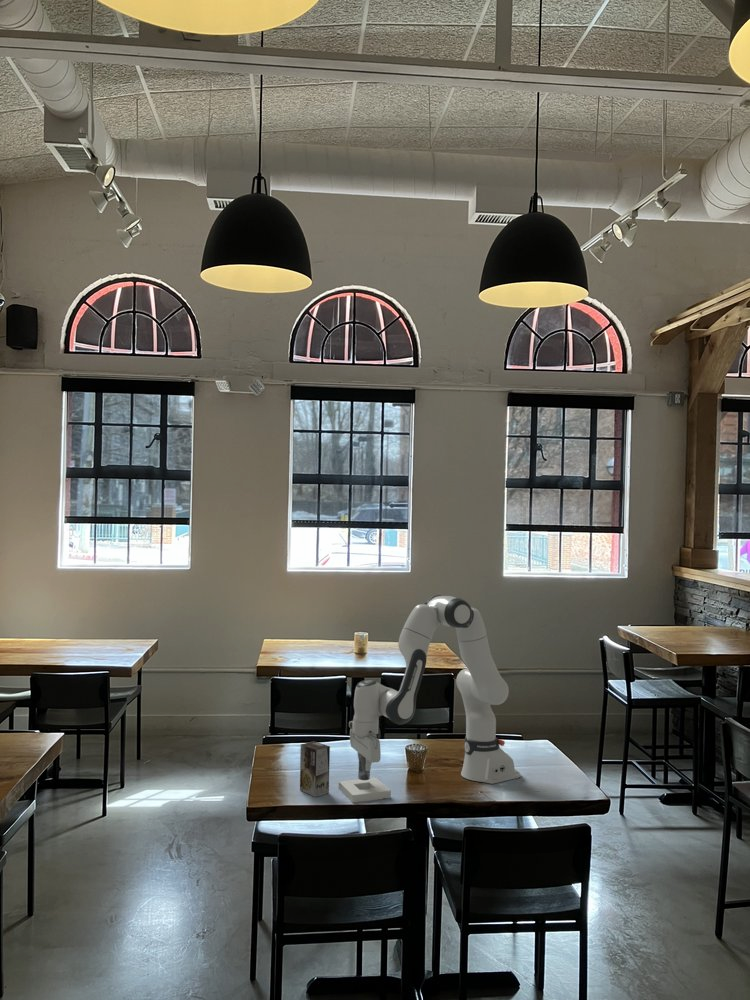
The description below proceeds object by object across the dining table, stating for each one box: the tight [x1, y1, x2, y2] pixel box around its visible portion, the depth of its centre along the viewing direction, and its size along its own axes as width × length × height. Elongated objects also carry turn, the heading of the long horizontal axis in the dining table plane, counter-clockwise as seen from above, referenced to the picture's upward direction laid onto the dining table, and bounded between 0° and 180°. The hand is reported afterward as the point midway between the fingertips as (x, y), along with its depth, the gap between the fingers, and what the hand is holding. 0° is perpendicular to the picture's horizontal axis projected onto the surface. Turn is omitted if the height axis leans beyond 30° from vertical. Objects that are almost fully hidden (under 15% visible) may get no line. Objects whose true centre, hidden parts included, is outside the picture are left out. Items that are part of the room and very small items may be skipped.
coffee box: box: [299, 740, 331, 798], centre depth 260 cm, size 9×6×16 cm
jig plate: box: [338, 776, 392, 803], centre depth 260 cm, size 14×14×2 cm
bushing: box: [357, 754, 371, 780], centre depth 260 cm, size 4×4×8 cm
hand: (364, 767), depth 260 cm, fingers closed on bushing, 4 cm apart
